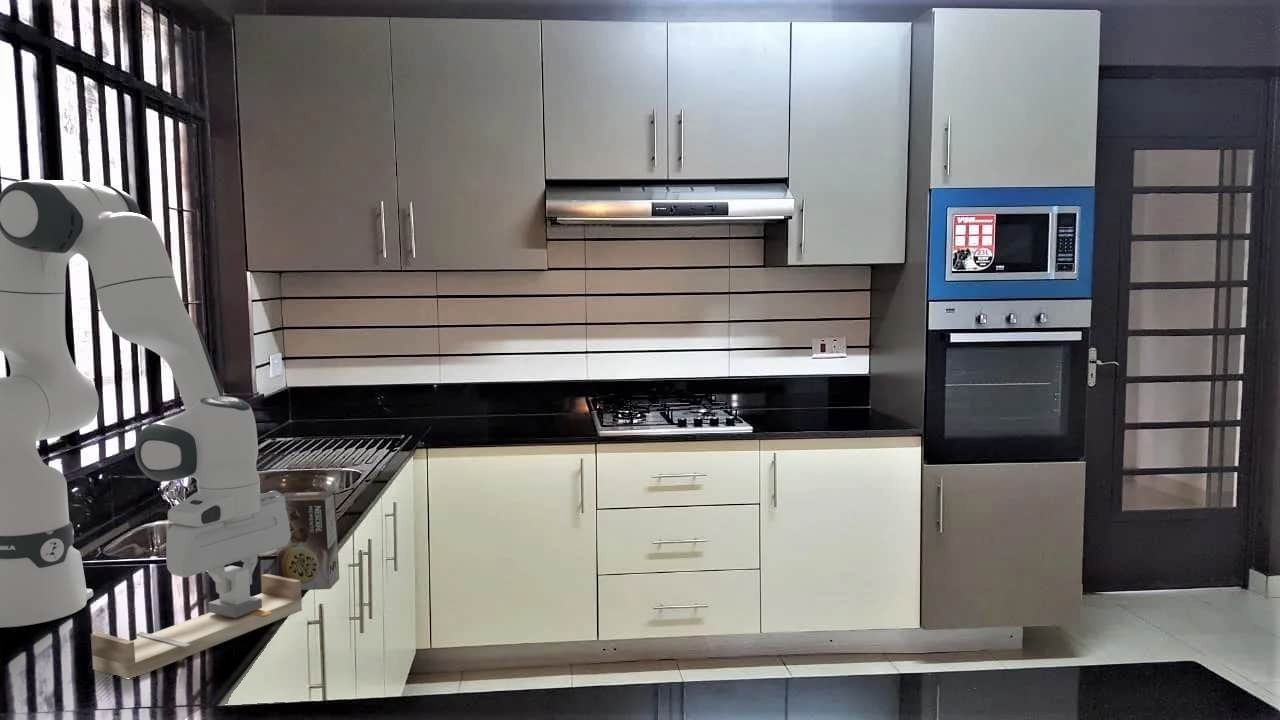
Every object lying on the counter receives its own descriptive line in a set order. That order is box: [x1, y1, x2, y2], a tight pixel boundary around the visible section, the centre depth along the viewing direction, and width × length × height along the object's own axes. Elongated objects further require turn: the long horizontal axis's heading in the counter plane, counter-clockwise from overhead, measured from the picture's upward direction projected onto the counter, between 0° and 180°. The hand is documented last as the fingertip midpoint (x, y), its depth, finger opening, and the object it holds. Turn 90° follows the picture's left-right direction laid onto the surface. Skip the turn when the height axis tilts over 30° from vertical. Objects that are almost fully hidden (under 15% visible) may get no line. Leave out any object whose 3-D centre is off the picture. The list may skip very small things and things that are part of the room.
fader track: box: [90, 573, 303, 679], centre depth 145 cm, size 11×30×5 cm, turn 152°
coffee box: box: [276, 490, 340, 591], centre depth 168 cm, size 9×6×16 cm
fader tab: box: [207, 565, 262, 618], centre depth 149 cm, size 6×5×6 cm
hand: (234, 588), depth 149 cm, fingers closed on fader tab, 2 cm apart
